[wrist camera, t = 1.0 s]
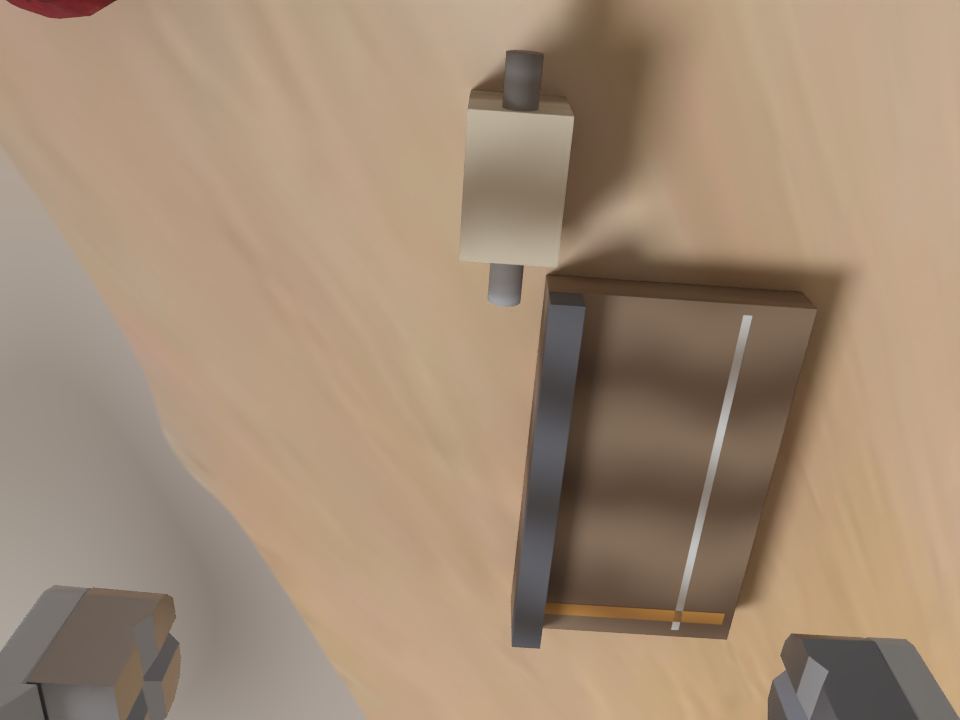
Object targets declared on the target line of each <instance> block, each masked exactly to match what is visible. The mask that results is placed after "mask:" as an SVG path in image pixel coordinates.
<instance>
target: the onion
mask: <svg viewBox="0 0 960 720" xmlns="http://www.w3.org/2000/svg"><path fill="white" fill-rule="evenodd" d="M7 1H8V2H10V3H11V4H13V5H15V6H17V7H19V8H22V9H25V10H28V11H31V12H34V13H37V14H40V15H43V16H46V17H49V18H58V19H62V18H72V17H83V16H91V15H93V14H94V13H96V12H98V11H99V10H101V9H103V8H104V7H106V6H108V5H109V4H111V3H113V2H114V1H116V0H7Z"/></svg>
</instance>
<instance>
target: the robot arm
mask: <svg viewBox="0 0 960 720" xmlns="http://www.w3.org/2000/svg"><path fill="white" fill-rule="evenodd" d="M175 618H176V615H175V608H174V602H173V598H172V597H171V596H169V595H167V594H159V593H148V592H137V591H125V590H114V589H102V588H92V589H91V588H80V587H70V586H60V585H54V586H52V587H51V588H49V589H47V590H46V591H44V592H43V593H42V595H41V596H40V597H39V599H38V600H37V602H36V603H35V604H34V606H33V607H32V609H31V610H30V611H29V613H28V614H27V615H26V617H25V618H24V620H23V621H22V622H21V624H20V625H19V626H18V628H17V629H16V631H15V632H14V633H13V635H12V636H11V637H10V639H9V640H8V642H7V643H6V644H5V646H4V647H3V649H2V650H1V652H0V720H164V719H165V718H166V717H167V715H168V713H169V710H170V708H171V705H172V703H173V701H174V698H175V694H176V690H177V685H178V681H179V677H180V662H181V655H180V646H179V642H178V641H177V640H176V639H175V638H174V637H173V636H172V635H171V634H170V633H169V631H170V629H171V627H172V625H173V622H174V620H175ZM780 656H781V658H782V661H783V663H784V666H785V668H786V670H785V671H784V672H783V673H781V674H780V675H779V676H778V677H776V678H775V679H774V680H773V681H772V685H771V689H770V693H769V697H768V720H960V719H959V717H958V715H957V714H956V712H955V711H954V709H953V707H952V706H951V704H950V703H949V701H948V699H947V698H946V696H945V695H944V693H943V691H942V690H941V688H940V687H939V685H938V683H937V682H936V680H935V679H934V677H933V675H932V674H931V672H930V671H929V669H928V667H927V666H926V664H925V662H924V661H923V659H922V658H921V656H920V654H919V653H918V651H917V650H916V648H915V647H914V645H913V644H911V643H910V642H909V641H907V640H906V639H892V638H871V637H867V638H862V637H846V636H827V635H809V634H790V636H789V637H788V638H787V639H786V640H785V643H784V646H783V649H782V652H781V655H780Z"/></svg>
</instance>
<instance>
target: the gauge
mask: <svg viewBox="0 0 960 720" xmlns="http://www.w3.org/2000/svg"><path fill="white" fill-rule="evenodd" d="M543 57H544V54H543V53H539V52H533V51H522V50H510V51H506V63H505V76H504V89H503V92H491V91H477V90H471V93H470V98H469V104H468V111H467V128H466V146H465V163H464V181H463V199H462V216H461V234H460V251H459V261H469V262H483V263H490V275H489V289H488V301H489V302H490V303H492V304H494V305H498V306H505V307H509V306H515V305H518V304H519V303H520V299H521V289H522V278H523V268H524V265H527V266H542V267H557V264H558V256H559V247H560V238H561V229H562V221H563V212H564V203H565V194H566V186H567V177H568V168H569V160H570V151H571V142H572V133H573V125H574V114H573V112H572V110H571V108H570V106H569V103H568V101H567V99H566V97H561V96H547V95H540V89H541V78H542V68H543Z"/></svg>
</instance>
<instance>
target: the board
mask: <svg viewBox="0 0 960 720" xmlns="http://www.w3.org/2000/svg"><path fill="white" fill-rule="evenodd" d="M816 312H817V308H816V307H815V306H814V305H813V304H812V303H811V302H810V300H809V299H808V298H807V297H806V296H805V295H804V294H803V292H790V291H775V290H761V289H746V288H731V287H716V286H702V285H687V284H672V283H658V282H643V281H628V280H614V279H599V278H584V277H570V276H555V275H546V283H545V292H544V301H543V310H542V319H541V329H540V338H539V347H538V356H537V365H536V374H535V384H534V393H533V402H532V411H531V420H530V430H529V439H528V448H527V457H526V466H525V475H524V485H523V494H522V503H521V512H520V521H519V531H518V540H517V549H516V558H515V567H514V576H513V586H512V595H511V628H512V647H523V648H539V649H540V643H541V635H542V628H550V629H566V630H582V631H598V632H614V633H630V634H646V635H662V636H678V637H694V638H710V639H726V640H727V637H728V634H729V630H730V626H731V623H732V619H733V615H734V612H735V608H736V604H737V601H738V597H739V593H740V590H741V586H742V582H743V579H744V575H745V571H746V568H747V564H748V561H749V557H750V553H751V550H752V546H753V542H754V539H755V535H756V531H757V528H758V524H759V520H760V517H761V513H762V509H763V506H764V502H765V498H766V495H767V491H768V488H769V484H770V480H771V477H772V473H773V469H774V466H775V462H776V458H777V455H778V451H779V447H780V444H781V440H782V436H783V433H784V429H785V425H786V422H787V418H788V415H789V411H790V407H791V404H792V400H793V396H794V393H795V389H796V385H797V382H798V378H799V374H800V371H801V367H802V363H803V360H804V356H805V353H806V349H807V345H808V342H809V338H810V334H811V331H812V327H813V323H814V320H815V316H816Z"/></svg>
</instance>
